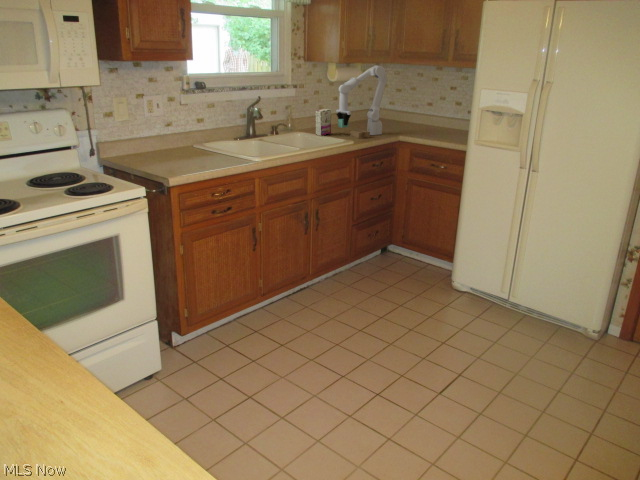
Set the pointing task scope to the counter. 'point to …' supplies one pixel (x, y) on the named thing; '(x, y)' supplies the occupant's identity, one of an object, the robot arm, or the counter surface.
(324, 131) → the candy bar box
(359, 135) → the walnut block
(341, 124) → the teal cube
